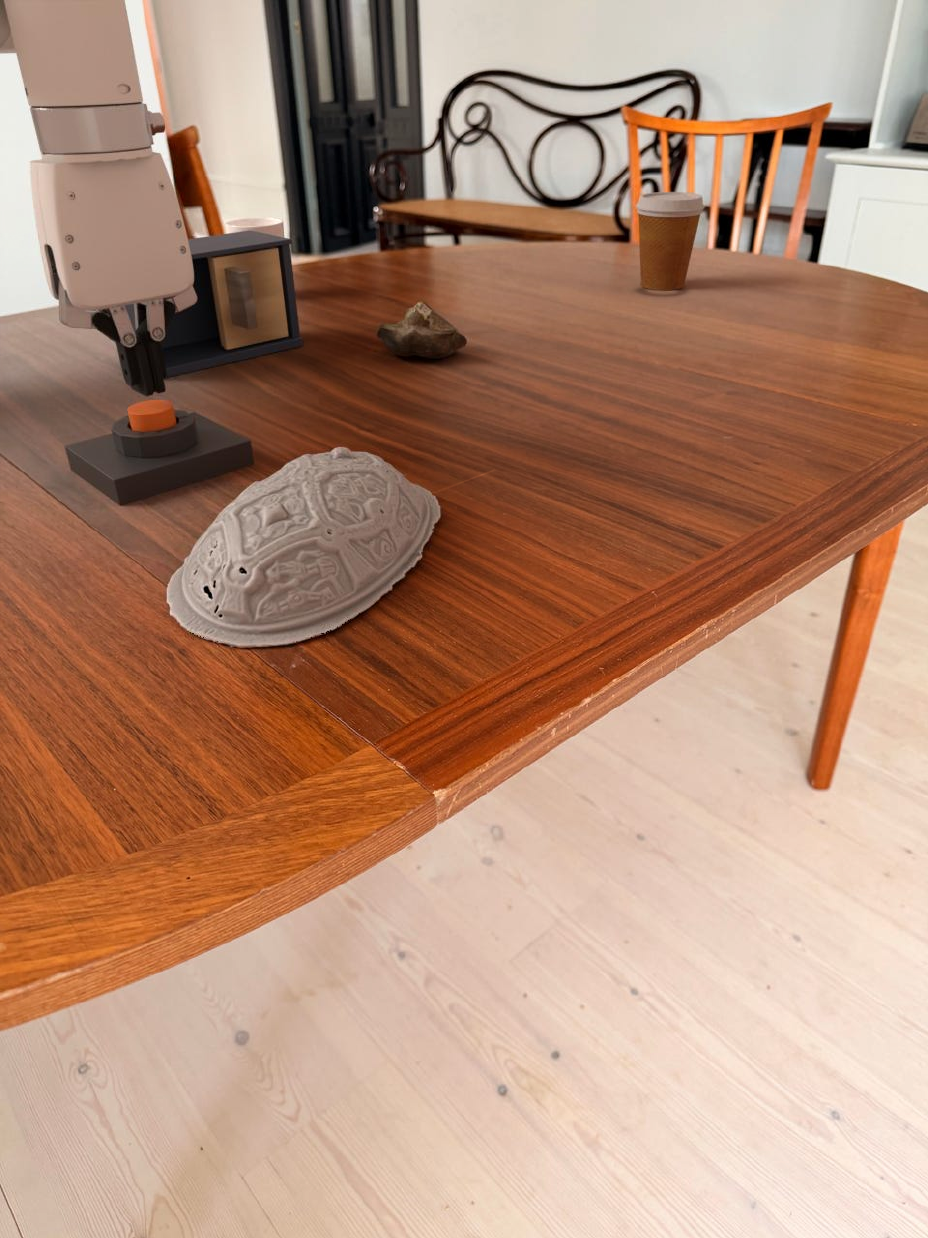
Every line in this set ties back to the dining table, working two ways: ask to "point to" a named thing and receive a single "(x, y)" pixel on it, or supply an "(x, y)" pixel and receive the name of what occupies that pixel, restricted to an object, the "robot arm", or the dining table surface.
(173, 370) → the closet
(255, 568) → the grey embossed domed part
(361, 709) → the dining table surface
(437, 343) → the fossilized seashell
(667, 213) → the disposable coffee cup
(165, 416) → the orange button
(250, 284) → the closet door
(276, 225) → the white cup
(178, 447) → the switch block
